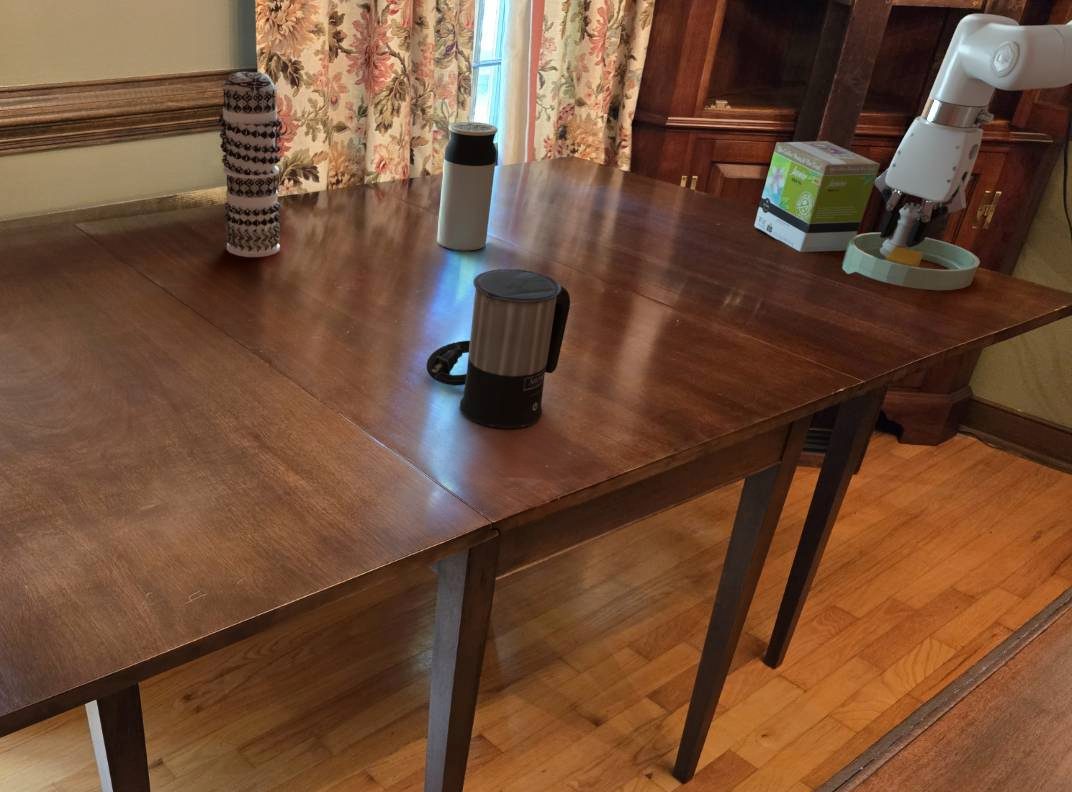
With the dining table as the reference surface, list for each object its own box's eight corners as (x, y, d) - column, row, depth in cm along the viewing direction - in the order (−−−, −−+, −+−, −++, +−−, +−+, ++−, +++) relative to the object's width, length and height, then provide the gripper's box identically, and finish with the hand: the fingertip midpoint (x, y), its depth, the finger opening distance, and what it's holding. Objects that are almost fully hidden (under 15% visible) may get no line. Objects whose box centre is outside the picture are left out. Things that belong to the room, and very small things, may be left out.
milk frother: (525, 438, 103) (546, 305, 94) (392, 404, 108) (401, 275, 100) (563, 388, 113) (585, 265, 105) (440, 359, 119) (451, 240, 110)
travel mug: (488, 252, 154) (502, 133, 143) (438, 250, 153) (449, 131, 143) (482, 237, 160) (496, 122, 150) (435, 235, 160) (445, 120, 150)
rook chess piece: (879, 246, 151) (898, 197, 145) (910, 251, 150) (930, 202, 144) (877, 259, 148) (896, 210, 143) (908, 264, 147) (929, 215, 141)
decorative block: (914, 277, 147) (923, 253, 144) (904, 288, 145) (913, 264, 142) (887, 269, 149) (896, 245, 146) (877, 280, 147) (886, 256, 144)
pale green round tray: (988, 285, 149) (1000, 256, 147) (934, 309, 140) (946, 279, 137) (875, 253, 161) (885, 226, 158) (818, 272, 151) (827, 244, 149)
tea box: (750, 228, 170) (774, 139, 162) (801, 226, 172) (827, 139, 164) (798, 255, 158) (827, 162, 150) (852, 254, 160) (884, 161, 152)
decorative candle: (260, 262, 146) (256, 82, 132) (212, 250, 150) (203, 74, 136) (294, 246, 152) (294, 74, 138) (247, 235, 156) (242, 66, 142)
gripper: (1024, 125, 133) (964, 254, 144) (909, 97, 143) (861, 219, 154) (999, 132, 129) (940, 263, 140) (883, 102, 139) (836, 227, 150)
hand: (899, 239), depth 147 cm, fingers closed on rook chess piece, 3 cm apart
